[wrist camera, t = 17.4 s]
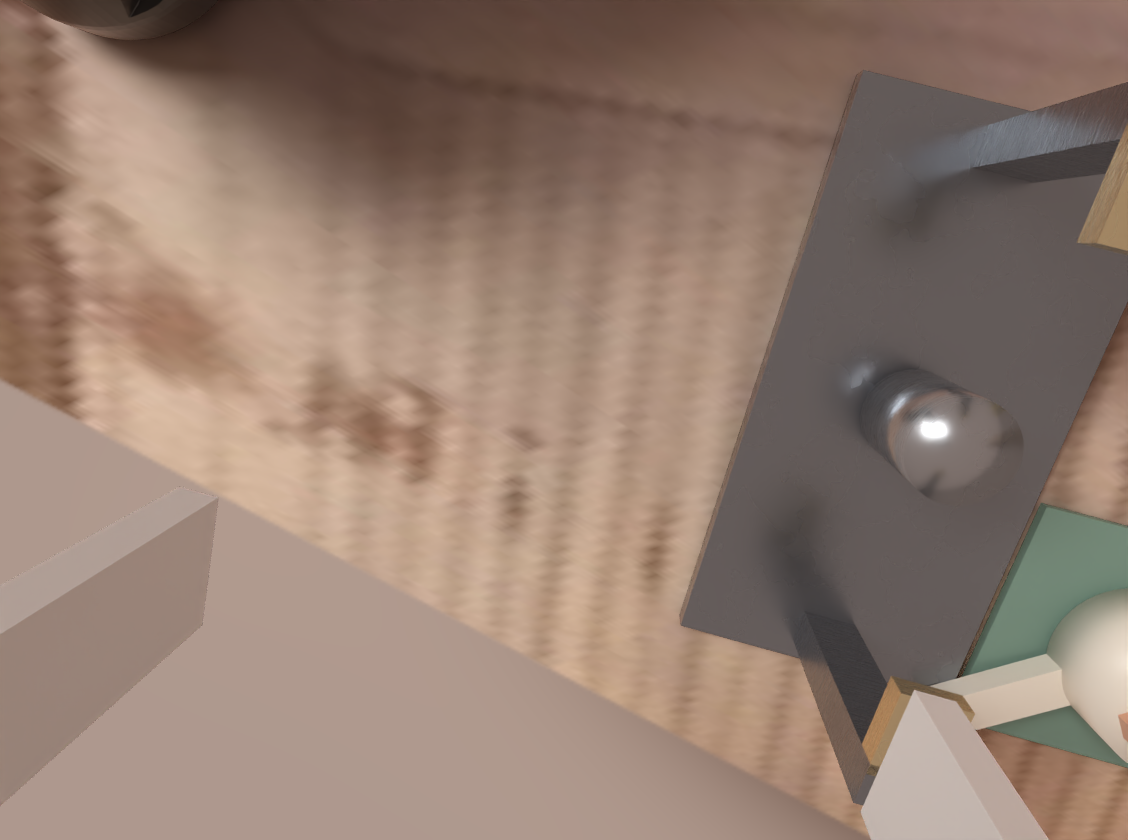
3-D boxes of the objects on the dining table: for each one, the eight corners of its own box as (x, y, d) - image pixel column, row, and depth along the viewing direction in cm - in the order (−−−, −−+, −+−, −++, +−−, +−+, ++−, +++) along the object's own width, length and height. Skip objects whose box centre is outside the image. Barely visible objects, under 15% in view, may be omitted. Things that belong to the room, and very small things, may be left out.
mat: (1041, 503, 40) (1047, 506, 40) (1294, 570, 40) (1303, 575, 39) (945, 712, 44) (949, 718, 44) (1175, 775, 44) (1182, 783, 43)
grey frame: (856, 75, 36) (981, -17, 23) (1178, 154, 36) (1498, 108, 22) (679, 615, 44) (695, 778, 31) (938, 686, 44) (1067, 884, 31)
